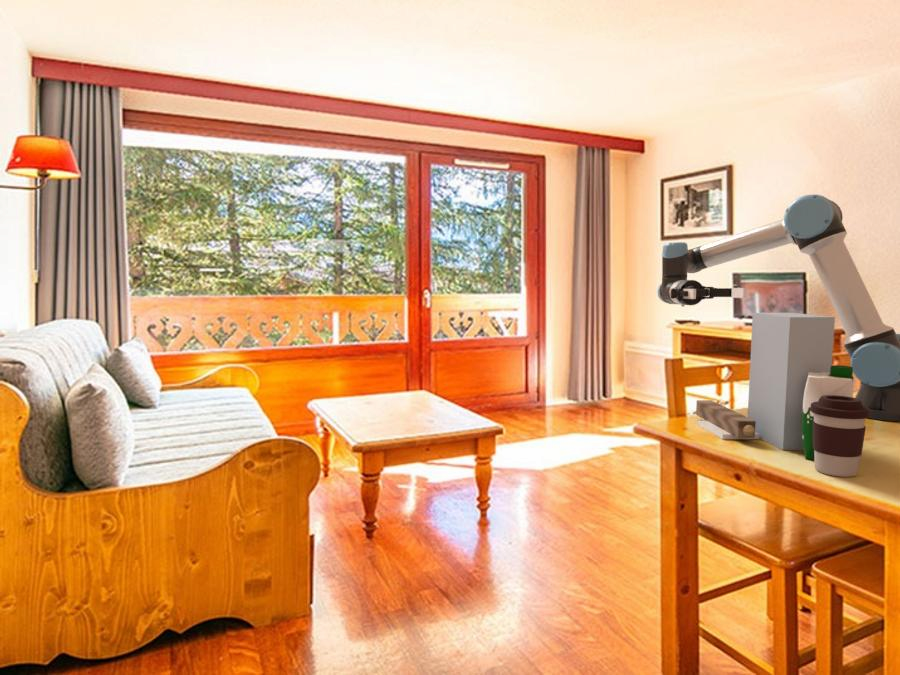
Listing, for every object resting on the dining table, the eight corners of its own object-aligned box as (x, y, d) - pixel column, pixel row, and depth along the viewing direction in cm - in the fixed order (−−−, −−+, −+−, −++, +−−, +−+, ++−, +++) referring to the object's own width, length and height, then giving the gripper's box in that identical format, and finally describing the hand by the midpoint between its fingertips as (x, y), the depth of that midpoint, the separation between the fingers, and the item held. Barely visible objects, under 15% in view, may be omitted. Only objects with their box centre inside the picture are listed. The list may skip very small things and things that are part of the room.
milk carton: (850, 466, 126) (856, 370, 124) (799, 459, 130) (805, 367, 128) (847, 455, 133) (853, 364, 131) (799, 449, 138) (805, 361, 136)
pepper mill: (759, 440, 141) (760, 423, 141) (742, 440, 141) (743, 423, 141) (710, 414, 167) (711, 400, 167) (696, 414, 167) (696, 400, 167)
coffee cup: (808, 475, 120) (812, 400, 119) (805, 461, 129) (809, 391, 127) (868, 483, 115) (874, 405, 114) (862, 468, 124) (867, 396, 123)
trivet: (759, 439, 147) (759, 434, 147) (722, 439, 146) (722, 434, 146) (731, 424, 161) (731, 420, 160) (697, 425, 160) (697, 420, 160)
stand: (826, 449, 138) (834, 317, 135) (782, 450, 137) (790, 317, 134) (786, 431, 153) (792, 312, 150) (746, 432, 153) (752, 312, 150)
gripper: (727, 304, 185) (765, 306, 164) (645, 305, 185) (673, 308, 163) (727, 279, 185) (765, 278, 163) (646, 280, 184) (673, 280, 163)
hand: (719, 293), depth 163 cm, fingers open, 13 cm apart
